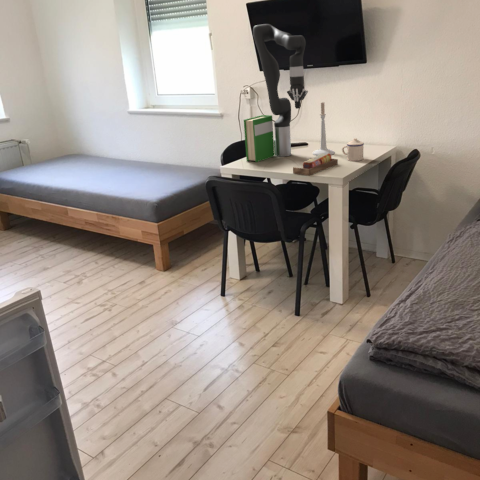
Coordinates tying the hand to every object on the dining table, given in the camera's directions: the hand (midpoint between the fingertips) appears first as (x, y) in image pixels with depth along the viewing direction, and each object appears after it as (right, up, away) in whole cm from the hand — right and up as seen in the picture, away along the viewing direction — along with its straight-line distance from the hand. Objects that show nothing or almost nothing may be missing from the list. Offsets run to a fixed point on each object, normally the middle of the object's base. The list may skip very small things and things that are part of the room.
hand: (297, 108), depth 284 cm
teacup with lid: (+31, -28, +3) cm, 42 cm away
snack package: (+9, -35, -11) cm, 38 cm away
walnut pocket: (+8, -35, -12) cm, 38 cm away
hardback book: (-20, -24, +23) cm, 39 cm away
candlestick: (+18, -21, +23) cm, 36 cm away
